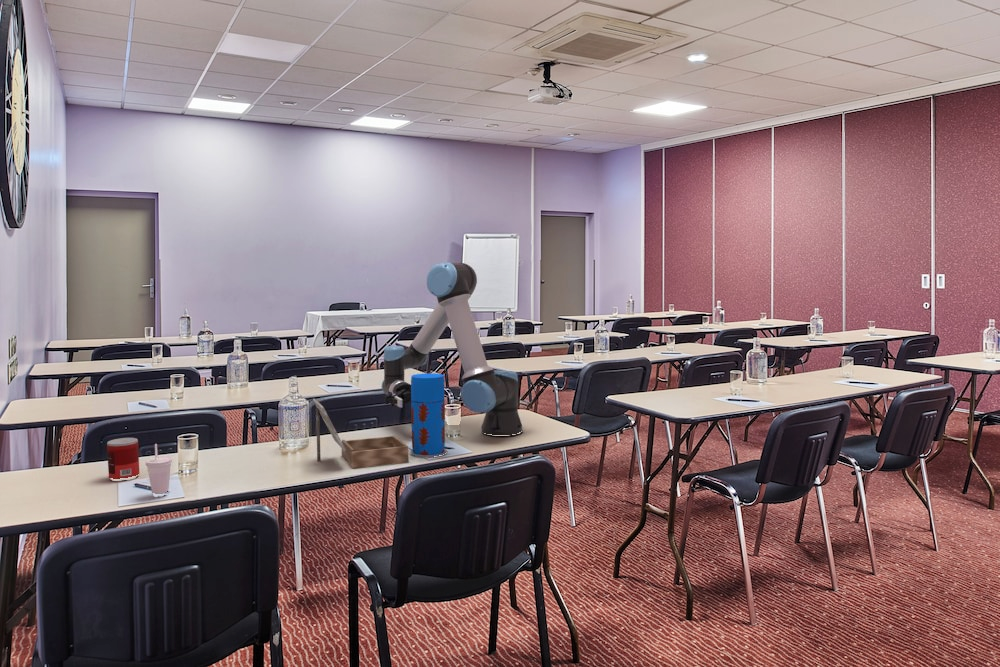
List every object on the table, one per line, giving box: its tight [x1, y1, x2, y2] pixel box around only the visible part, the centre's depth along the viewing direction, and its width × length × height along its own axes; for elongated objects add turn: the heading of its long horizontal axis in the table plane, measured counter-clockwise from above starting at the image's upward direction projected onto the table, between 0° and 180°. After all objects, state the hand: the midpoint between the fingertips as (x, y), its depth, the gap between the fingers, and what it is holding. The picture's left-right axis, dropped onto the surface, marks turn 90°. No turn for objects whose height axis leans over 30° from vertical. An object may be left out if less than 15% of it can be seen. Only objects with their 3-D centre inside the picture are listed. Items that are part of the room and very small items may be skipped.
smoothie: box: [145, 443, 173, 494], centre depth 188 cm, size 6×6×14 cm
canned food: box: [106, 437, 140, 479], centre depth 204 cm, size 8×8×11 cm
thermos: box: [410, 372, 446, 455], centre depth 230 cm, size 11×11×25 cm
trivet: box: [409, 448, 448, 459], centre depth 232 cm, size 12×12×1 cm
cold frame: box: [312, 398, 409, 470], centre depth 222 cm, size 26×16×20 cm, turn 114°
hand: (420, 401), depth 237 cm, fingers open, 13 cm apart
